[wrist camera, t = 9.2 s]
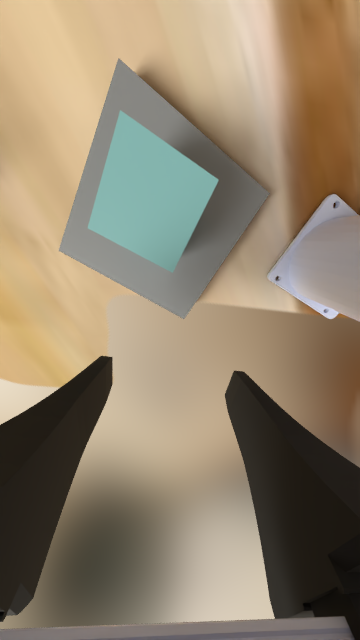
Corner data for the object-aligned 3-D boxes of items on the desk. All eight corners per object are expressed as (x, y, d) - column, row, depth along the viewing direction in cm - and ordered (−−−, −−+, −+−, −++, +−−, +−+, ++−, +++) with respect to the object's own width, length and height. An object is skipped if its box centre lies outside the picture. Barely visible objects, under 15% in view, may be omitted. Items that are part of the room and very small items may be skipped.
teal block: (199, 205, 13) (218, 180, 8) (172, 260, 15) (172, 272, 9) (143, 168, 12) (120, 109, 7) (121, 232, 14) (87, 228, 8)
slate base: (255, 200, 15) (269, 193, 13) (182, 309, 19) (184, 319, 17) (128, 91, 12) (118, 58, 10) (74, 248, 16) (58, 250, 14)
